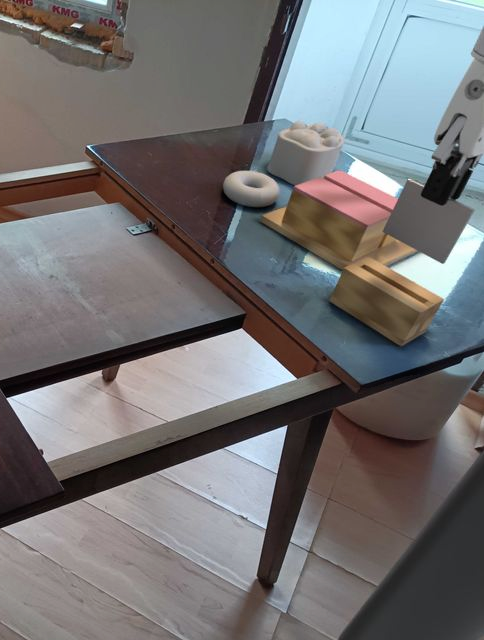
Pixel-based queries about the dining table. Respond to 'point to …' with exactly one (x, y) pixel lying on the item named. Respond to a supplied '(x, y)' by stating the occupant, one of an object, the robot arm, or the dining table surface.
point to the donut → (251, 188)
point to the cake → (336, 225)
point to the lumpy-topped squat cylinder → (305, 152)
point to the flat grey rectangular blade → (429, 219)
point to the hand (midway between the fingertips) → (439, 196)
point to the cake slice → (365, 195)
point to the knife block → (385, 300)
